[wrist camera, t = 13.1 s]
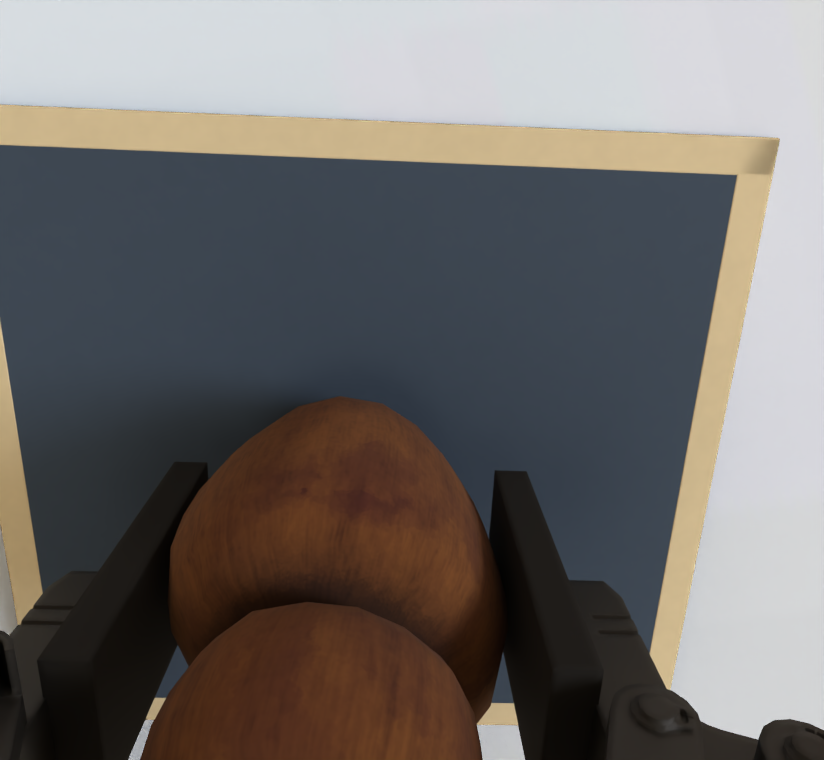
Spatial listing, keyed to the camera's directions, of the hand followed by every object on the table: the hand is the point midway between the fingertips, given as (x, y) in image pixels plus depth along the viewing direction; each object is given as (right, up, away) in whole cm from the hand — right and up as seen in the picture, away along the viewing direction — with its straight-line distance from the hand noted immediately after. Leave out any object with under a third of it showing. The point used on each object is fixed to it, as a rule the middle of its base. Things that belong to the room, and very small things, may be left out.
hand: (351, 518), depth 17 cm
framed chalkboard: (0, +1, +3) cm, 3 cm away
